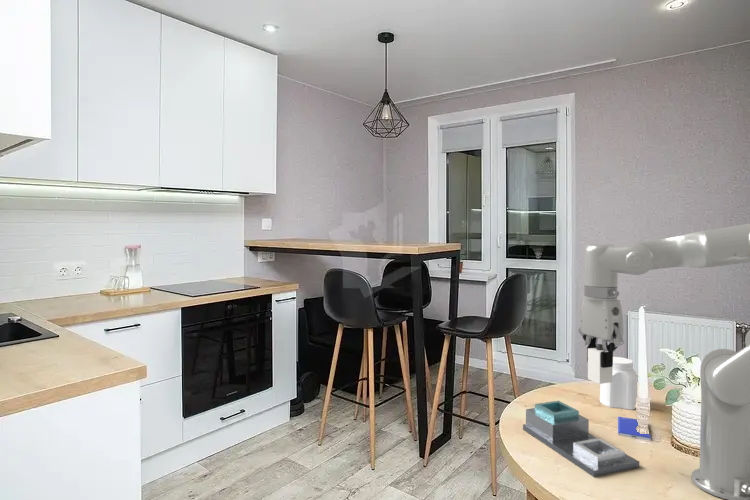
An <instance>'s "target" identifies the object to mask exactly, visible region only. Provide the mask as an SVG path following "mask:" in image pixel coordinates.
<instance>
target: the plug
mask: <svg viewBox="0 0 750 500" xmlns="http://www.w3.org/2000/svg"><path fill="white" fill-rule="evenodd" d="M596 346H597V347H596V348H588V362H587V379H588V380H589V381H592V382H594V383H597V384H603V383H609V382H613V366H612V367H607V368H603V367H601V352H602V351H603V346H602V343H597V345H596Z"/></svg>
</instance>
